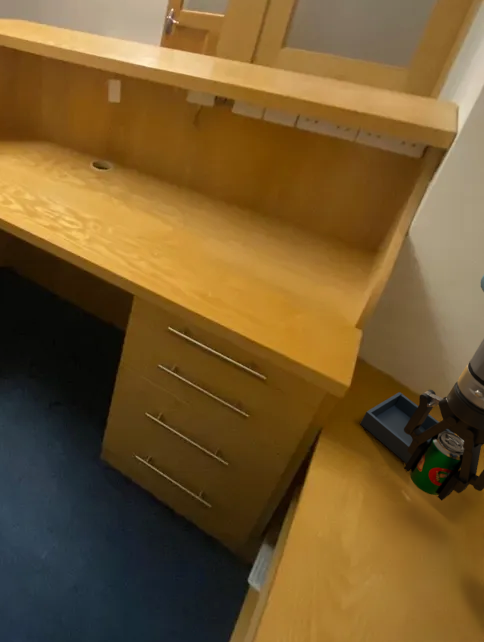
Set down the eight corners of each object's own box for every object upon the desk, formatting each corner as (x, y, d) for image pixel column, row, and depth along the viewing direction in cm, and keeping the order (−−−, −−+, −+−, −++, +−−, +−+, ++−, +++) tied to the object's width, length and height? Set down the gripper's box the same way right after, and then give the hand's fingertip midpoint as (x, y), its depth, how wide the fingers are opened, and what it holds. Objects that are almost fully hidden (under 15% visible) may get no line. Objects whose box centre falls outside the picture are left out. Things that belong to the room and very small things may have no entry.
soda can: (415, 464, 94) (441, 424, 88) (446, 485, 91) (476, 445, 85) (403, 480, 92) (429, 440, 86) (435, 503, 88) (465, 463, 82)
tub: (446, 446, 104) (455, 433, 102) (413, 469, 99) (421, 457, 97) (392, 403, 112) (399, 391, 110) (359, 423, 108) (366, 411, 106)
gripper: (411, 363, 85) (365, 447, 97) (543, 455, 71) (470, 540, 83) (438, 348, 87) (390, 431, 99) (570, 433, 73) (495, 518, 85)
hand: (426, 480), depth 91 cm, fingers closed on soda can, 5 cm apart
